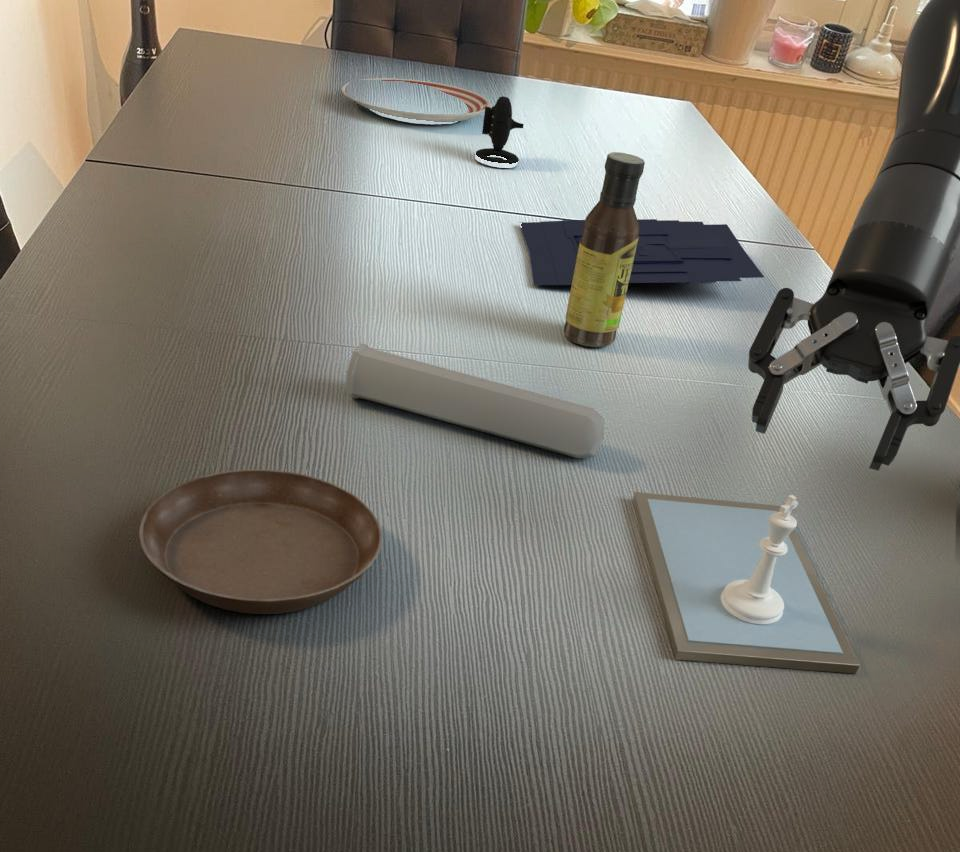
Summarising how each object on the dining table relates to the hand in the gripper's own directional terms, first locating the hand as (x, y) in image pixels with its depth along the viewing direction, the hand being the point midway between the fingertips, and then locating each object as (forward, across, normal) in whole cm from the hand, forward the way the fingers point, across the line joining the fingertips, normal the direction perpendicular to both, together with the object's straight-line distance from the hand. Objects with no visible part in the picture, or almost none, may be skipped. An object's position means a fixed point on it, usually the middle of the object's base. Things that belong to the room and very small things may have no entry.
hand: (817, 447), depth 74 cm
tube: (+2, -32, +17) cm, 36 cm away
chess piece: (+11, 0, +7) cm, 13 cm away
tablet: (+9, -3, +10) cm, 14 cm away
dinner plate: (-70, -94, +89) cm, 147 cm away
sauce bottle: (-17, -30, +37) cm, 51 cm away
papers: (-37, -34, +56) cm, 75 cm away
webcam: (-58, -70, +77) cm, 119 cm away
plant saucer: (+23, -35, -4) cm, 42 cm away
